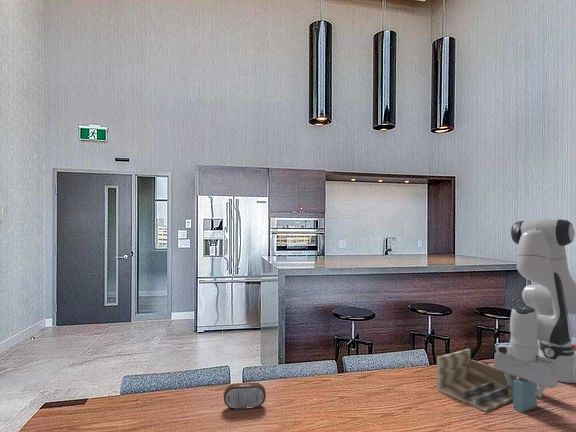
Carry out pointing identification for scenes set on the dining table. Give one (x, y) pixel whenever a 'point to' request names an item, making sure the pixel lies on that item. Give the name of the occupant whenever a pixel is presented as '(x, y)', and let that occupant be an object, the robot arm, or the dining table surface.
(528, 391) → the light blue flat block
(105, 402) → the dining table surface
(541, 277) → the robot arm
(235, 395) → the tin
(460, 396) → the rack
